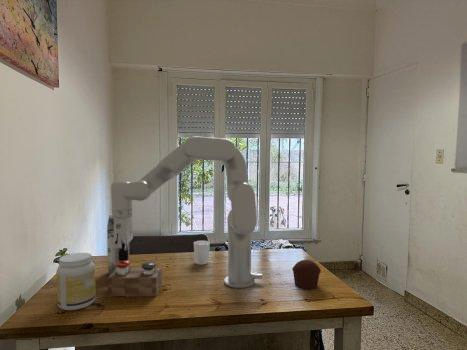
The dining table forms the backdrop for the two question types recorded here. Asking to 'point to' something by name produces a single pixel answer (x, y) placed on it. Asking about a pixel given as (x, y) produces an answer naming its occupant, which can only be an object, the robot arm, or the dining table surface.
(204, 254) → the white cup
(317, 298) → the dining table surface
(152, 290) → the wooden slotted frame
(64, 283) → the supplement tub
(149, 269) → the grey capped peg
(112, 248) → the juice carton
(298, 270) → the muffin
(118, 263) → the red plug
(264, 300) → the dining table surface
